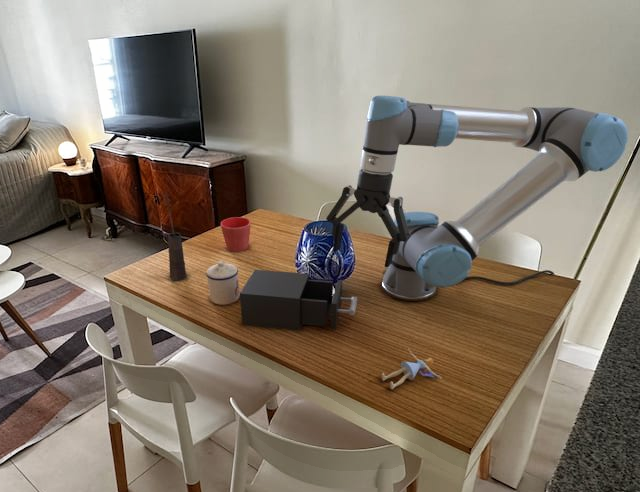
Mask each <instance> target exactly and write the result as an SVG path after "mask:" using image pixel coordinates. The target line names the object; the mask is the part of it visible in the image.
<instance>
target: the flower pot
mask: <svg viewBox="0 0 640 492" xmlns="http://www.w3.org/2000/svg"><path fill="white" fill-rule="evenodd" d="M251 224H252V222H251V220H250V219H249V218H248V217H242V216H233V217H229V218H225V219H223V220H222V221H220V228H221V231H222V235H223V238H224V242H225V245H226V248H227V250H228V251H231V252H243V251H246V250H247V249H248V248H249V243H250V234H251V226H252V225H251Z"/></svg>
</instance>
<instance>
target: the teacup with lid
mask: <svg viewBox="0 0 640 492" xmlns="http://www.w3.org/2000/svg"><path fill="white" fill-rule="evenodd" d="M238 274H239V269H238V267H237V266H236V265H234V264H232V263H228V262H225V261H223V260H219V261H218V262H217V263H216V264H213V265H211V266H209V267H208V268H207V270H206V273H205V276H206V277H207V284H208V291H209V298H210V301H211V302H212V303H214V304H215V305H220V306H221V305H222V306H224V305H231V304H234V303H235V302H237V301H238V300H240V287H239V286H240V285H239V275H238Z"/></svg>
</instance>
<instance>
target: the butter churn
mask: <svg viewBox="0 0 640 492" xmlns="http://www.w3.org/2000/svg"><path fill="white" fill-rule="evenodd" d="M165 199H166V204H167V210H168V213H169V214H168V215H169V221H170V227H171V233H170V232H169V233H168V234H167V243H168V262H169V278H170V280H172V281H181V280H183V279H184V278H186V277H187V271H186V262H185V256H184V255H185V254H184V248H183V247H184V246H183V242H182V235H181V233H180V232H175V229H174V225H173V218H172V213H171V205H170V200H169V195H168V190H165Z"/></svg>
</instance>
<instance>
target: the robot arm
mask: <svg viewBox="0 0 640 492" xmlns="http://www.w3.org/2000/svg"><path fill="white" fill-rule="evenodd" d="M369 103H370V104H369V106H368V107H369V108H368V111H367V116H366V123H365V125H366V126H365V133H364V139H363V146H362V152H361V158H360V165H359V167H360V169H359V171H358V178H357V183H356V185H357V186H356V188H354V187H353V186H352V185H350V184H349V185H346V186H344V187H343V188H342V192H341V195H340V197H339V199H337V201H336V203H335V204H334V206H333V207H332V209H331V210H330V212H329V213H328V214H327V217H326V218H325V219H326V221H327V222H330V223H331V224H332V230H331V238H334V239H333V247H332V251H333V253H334V252H335V253H336V252H338V251H339V250H341V247H342V246H341V245H342V238H343V232H344V227H345V226H344V225H345V224H343V223H342V222H344V221H345V220H346V219H347V218H348V217H349V216H351V215H352V214H353V213H354V212H356V211H357V210H358V209H359V208H360V210H361V211H363V212H369V213H371V214H377V215H378V217H379V218H380V219H381V220H382V222H383V224H384V226H385V228H386V230H387V232H388V233H389V235H390V238H391V239H390V240H389V242H388V246H387V252H386V256H385V261H384V268H385V269H383V271H382V276H383V278H382V283H381V289H382V291H383V292H384V293H385V294H386V295H387V296H389V297H391V298H393V299H396V300H399V301H403V302H423V301H427V300H430V299H431V298H433V297H434V296H435V295H436V291H437V288H450V287H453V286H456V285H458V284H459V283H461V282H463V281H466V280H481V281H482V280H483V281H487V282H490V283H493V284H496V285H497V284H498V285H502V286H503V285H504V286H508V285H509V286H513V285H517V284H519V283H522V282H523V281H526V280H528V279H531V278H534V277H538V276H539V275H542V274H545V273H546V274H547V273H548V274H550V275H551V276H555V274H556V273H554V271H552V270H548V269H545V270H541V271H538V272H536V273H534V274H530V275H527V276H523V277H522V278H520V279H518V280H516V281H515V280H514V281H500V280H495V279H491V278H488V277H483V276H477V275H472V276H471V275H470V276H468V275H469V273H470V269H471V268H472V265H473V262H472V261H474V260H475V259H476V258H477V257H478V256H479V250H480V247H481V246H483V245H484V244H486V242H488V241H489V240H490V239H492V238H493V237H494V236H495V235H497V234H498V233H500V232H501V231H502V230H503V229H505V228H507V226H509V225H510V224H512V223H513V222H514V221H515V220H516V219H518V218H519V217H520V216H522V214H524V213H525V212H526V211H528V210H529V209H530V208H531V207H533V206H534V205H535V204H537V203H538V202H539V201H540V200H543V198H544V197H546V196H547V195H549V194H550V193H551V192H552V191H554V190H555V189H556V188H557V187H559V186H560V185H561V184H563V183H564V182H576V181H577V180H579V179H580V178H581V177H583V176H584V175H585V174H587V173H588V172H589V171H590V172H593V173H594V172H597V173H598V172H604V171H606V170H608V169H610V168H612V167H613V166H614V165H615V164H616V163H617V162H619V160H620V158H621V157H622V156H623V154H624V152H625V150H626V146H627V144H628V138H629V134H628V133H629V132H628V128H627V125H626V123H625V122H624V121H623V120H622V119H621V118H619V117H618V116H614V115H611V114H609V113H607V112H600V113H598V112H594V111H590V110H584V109H581V108H575V107H566V106H561V107H560V106H558V107H553V106H552V107H532V106H524V107H522V108H520V109H519V110H515V109H514V110H513V109H499V108H488V107H476V106H475V107H473V106H464V105H463V106H462V105H461V106H460V105H448V104H447V105H446V104H435V103H425V102H424V103H423V102H422V103H421V102H410V101H409V100H407V99H406V98H404V97H400V96H392V95H375V96H374V97H372V98H371V100H370V102H369ZM455 139H456V140H457V139H458V140H470V141H471V140H472V141H483V142H499V143H510V144H511V145H512V147H515V148H525V149H530V150H532V151H535V152H538V154H537V155H536V156H534V158H532V159H531V160H530V161H528V162H527V163H526V164H524V165H523V166H522V167H521V168H520V169H518V170H517V171H516V172H515V173H513V174H512V175H511V176H510V177H508V178H507V179H506V180H505V181H503V182H502V183H501V184H500V185H498V186H497V187H496V188H495V189H494V190H492V191H491V192H490V193H488V194H487V195H486V196H485V197H483V198H482V199H480V201H479V202H477V203H476V204H474V205H473V206H472V207H470V209H468V210H467V211H466V212H465V213H464V214H462V215H461V216H459V218H457V219H455V220H445V221H443V222H442V223H441V224H440V220H439V219H440V217H439V216H438V215H437V214H436V213H432V212H428V211H407V212H406V211H405V212H404V209H403V203H404V198H403V197H402V196H398V197H393V196H391V194H390V193H391V188H392V183H393V178H394V175H393V172H394V171H395V167H396V162H397V156H398V152H399V147H400V145H402V146H418V147H419V146H420V147H433V148H437V147H438V148H439V147H440V148H441V147H444V148H445V147H448V146H450V145H451V144H452V143H453V142H454V141H455ZM352 196H354V198H355V200H356V201H355V202H354V203H353V204H352V205H351V206H350V207H348V208H347V209H346V210H345V211H344V212H343V213H342V214H340V215H339V216H338V214H339V213H340V212H341V210H342V208H343V207H344V206H345V204H346V203H347V201H348V200H349V199H350V197H352ZM389 203H390V205H391V207H392V208H393V213H394V219H393V217H392V216H391V214H390V210H389V209H388V206H387V205H388V204H389ZM337 216H338V217H337ZM439 224H440V225H439Z"/></svg>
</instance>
